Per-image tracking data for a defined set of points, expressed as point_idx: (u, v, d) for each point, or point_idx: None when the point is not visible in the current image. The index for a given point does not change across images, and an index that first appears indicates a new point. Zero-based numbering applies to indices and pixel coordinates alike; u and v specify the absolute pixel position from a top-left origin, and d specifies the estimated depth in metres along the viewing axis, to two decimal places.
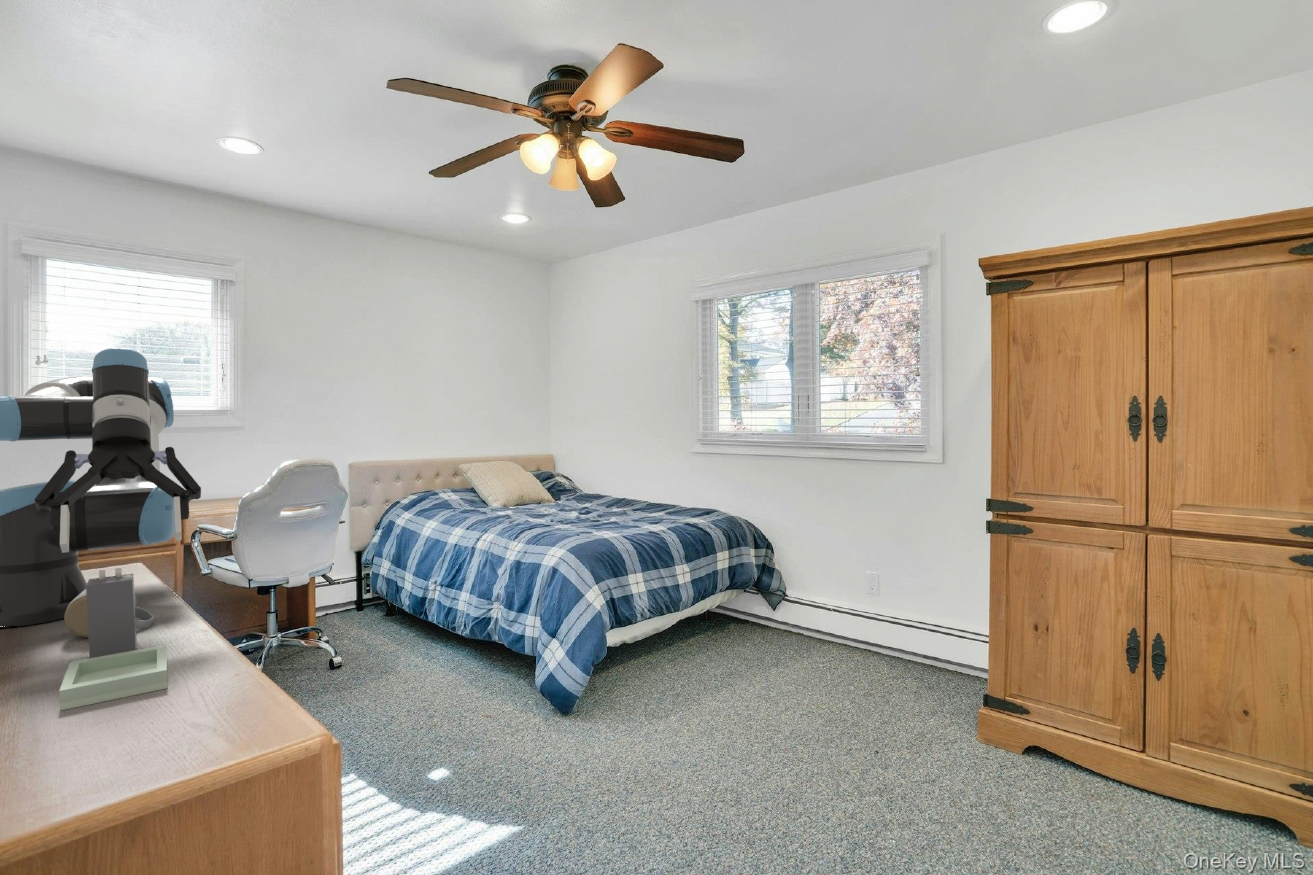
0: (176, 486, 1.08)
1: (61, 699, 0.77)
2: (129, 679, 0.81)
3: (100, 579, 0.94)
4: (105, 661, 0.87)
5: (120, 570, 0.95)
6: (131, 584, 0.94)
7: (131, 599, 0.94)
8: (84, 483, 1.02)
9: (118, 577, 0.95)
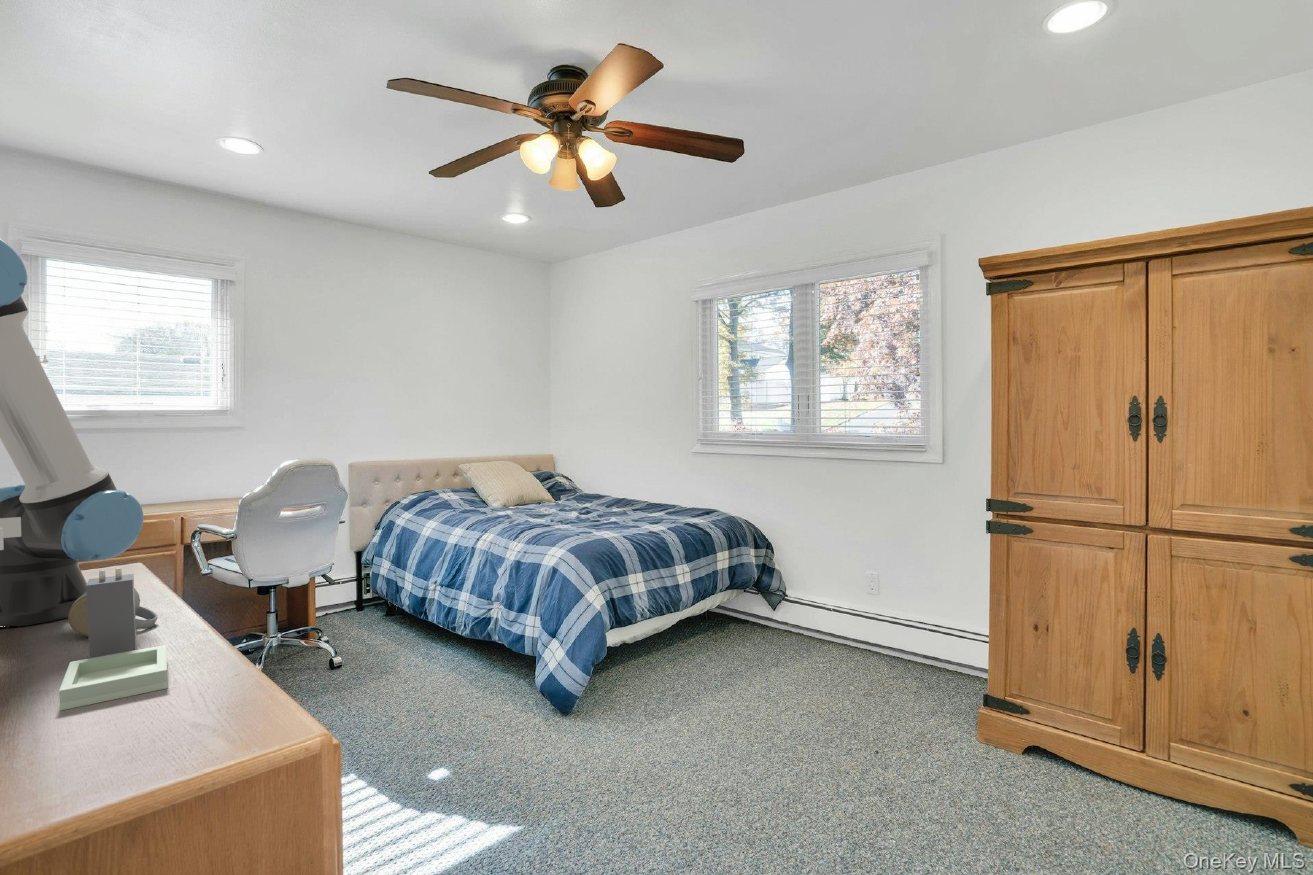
0: None
1: (61, 699, 0.77)
2: (129, 679, 0.81)
3: (100, 579, 0.94)
4: (105, 661, 0.87)
5: (120, 570, 0.95)
6: (131, 584, 0.94)
7: (131, 599, 0.94)
8: None
9: (118, 577, 0.95)
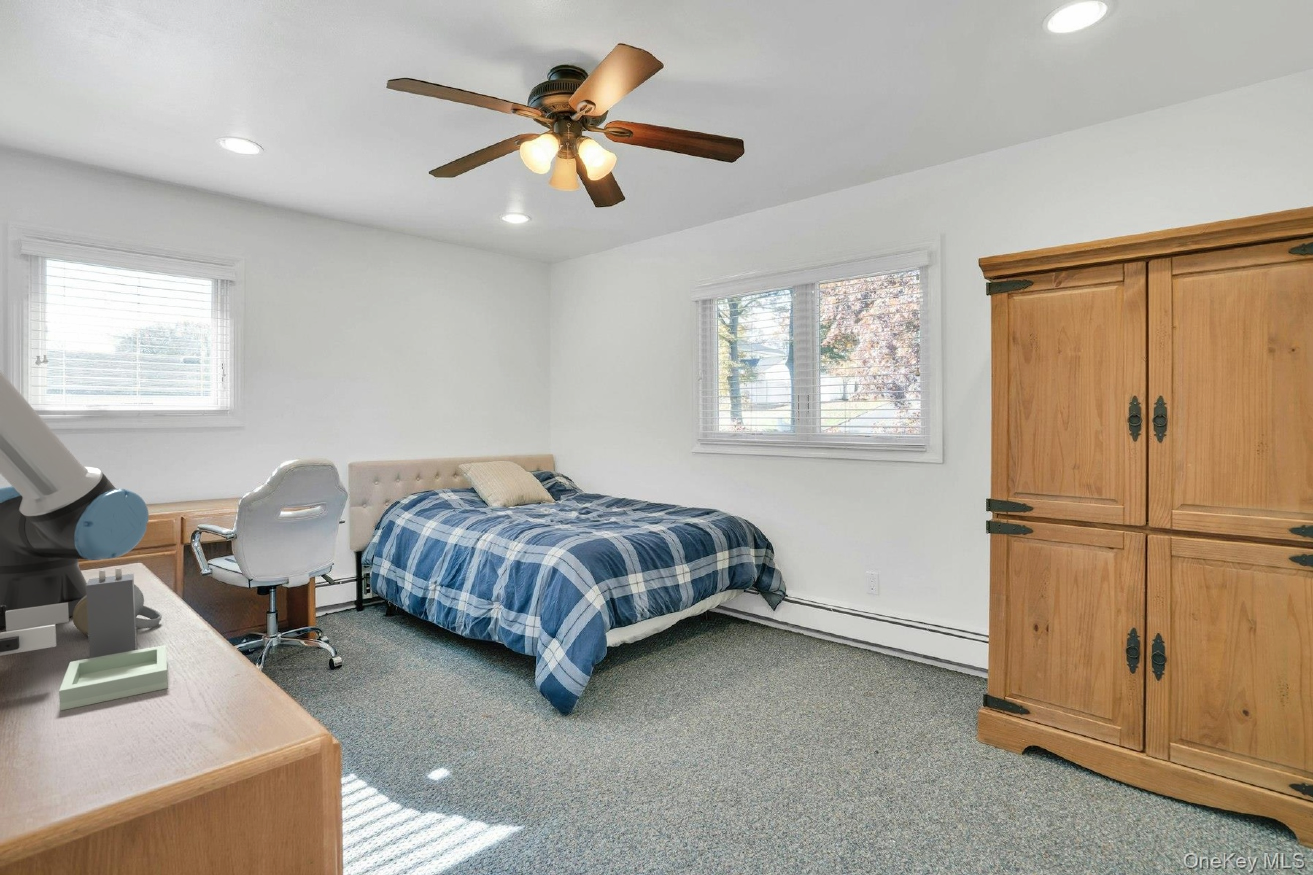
0: None
1: (61, 699, 0.77)
2: (129, 679, 0.81)
3: (100, 579, 0.94)
4: (105, 661, 0.87)
5: (120, 570, 0.95)
6: (131, 584, 0.94)
7: (131, 599, 0.94)
8: None
9: (118, 577, 0.95)
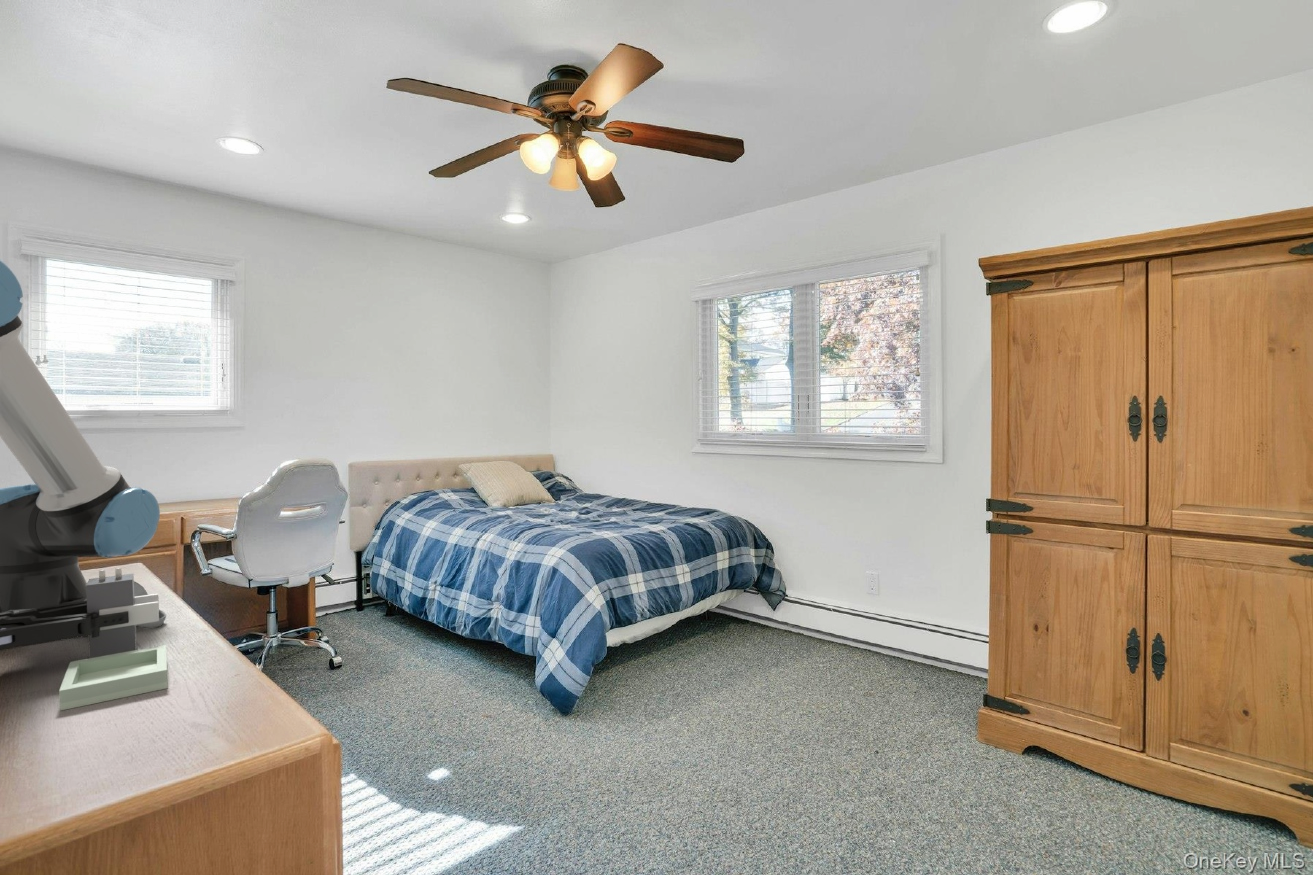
0: None
1: (61, 699, 0.77)
2: (129, 679, 0.81)
3: (100, 579, 0.94)
4: (105, 661, 0.87)
5: (120, 570, 0.95)
6: (131, 584, 0.94)
7: (131, 599, 0.94)
8: None
9: (118, 577, 0.95)
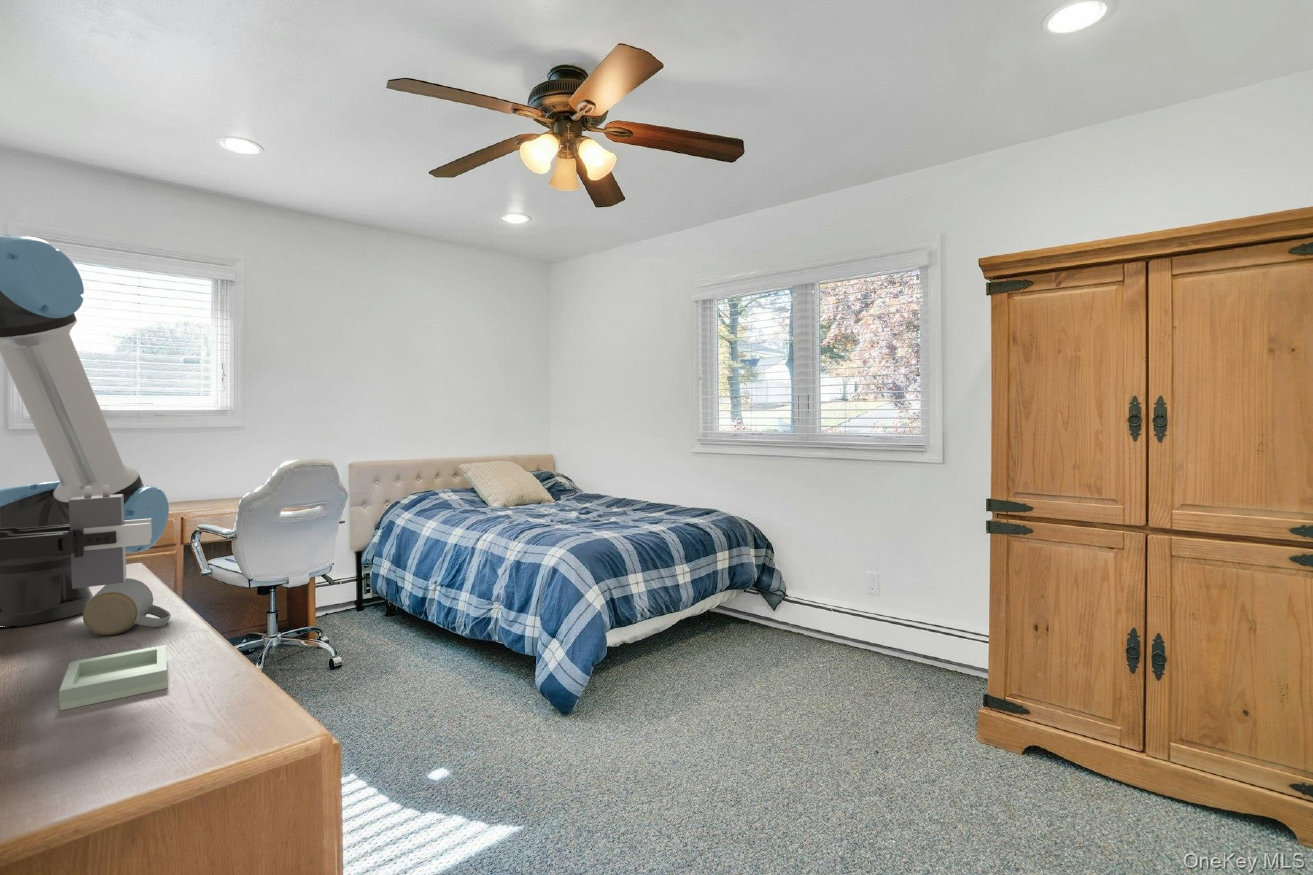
0: None
1: (61, 699, 0.77)
2: (129, 679, 0.81)
3: (85, 496, 0.85)
4: (105, 661, 0.87)
5: (108, 487, 0.86)
6: (119, 502, 0.85)
7: (119, 518, 0.85)
8: None
9: (105, 495, 0.86)
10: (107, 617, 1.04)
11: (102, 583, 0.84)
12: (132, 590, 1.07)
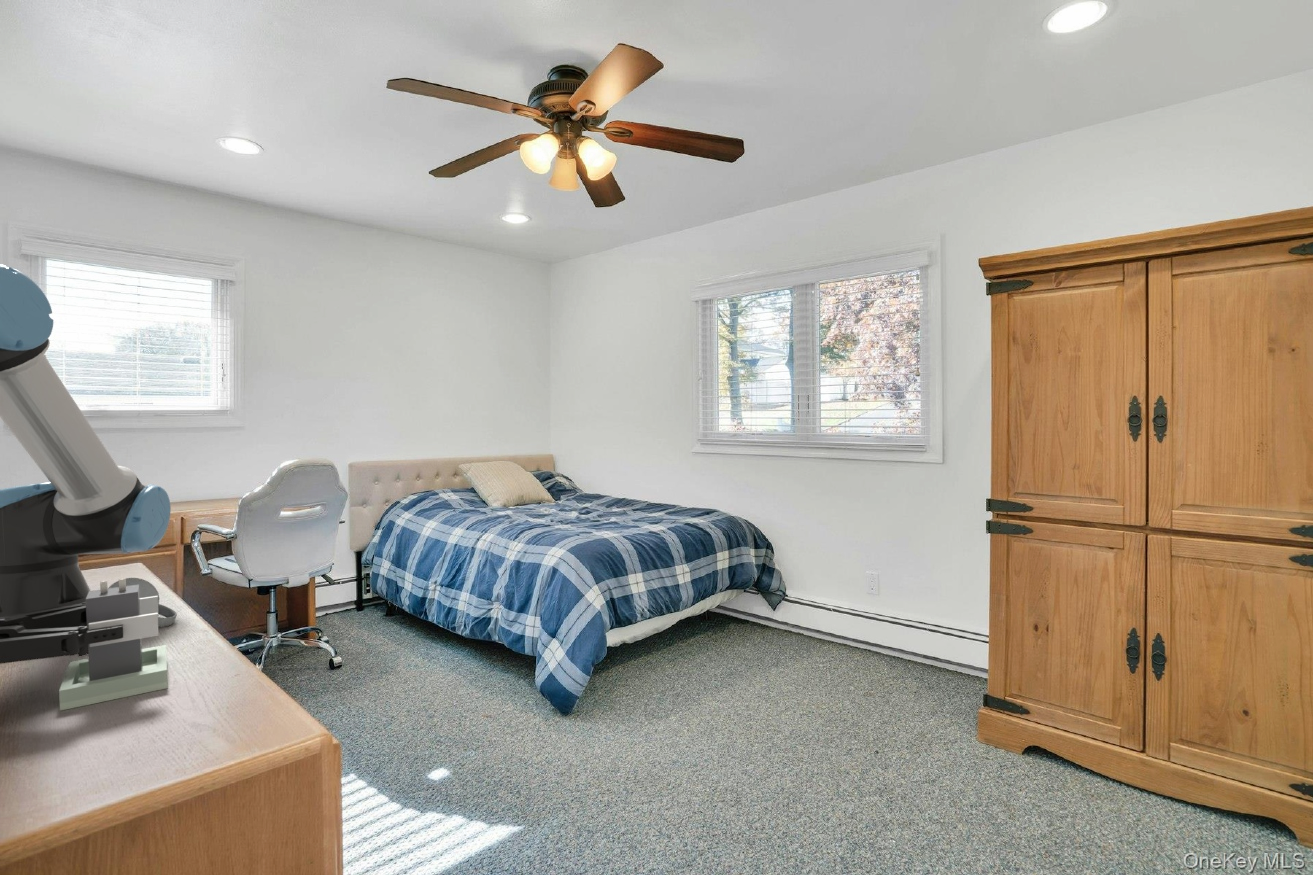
0: None
1: (61, 699, 0.77)
2: (129, 679, 0.81)
3: (102, 591, 0.83)
4: None
5: (124, 581, 0.85)
6: (136, 597, 0.84)
7: (136, 614, 0.84)
8: None
9: (122, 589, 0.84)
10: None
11: None
12: (139, 589, 1.08)
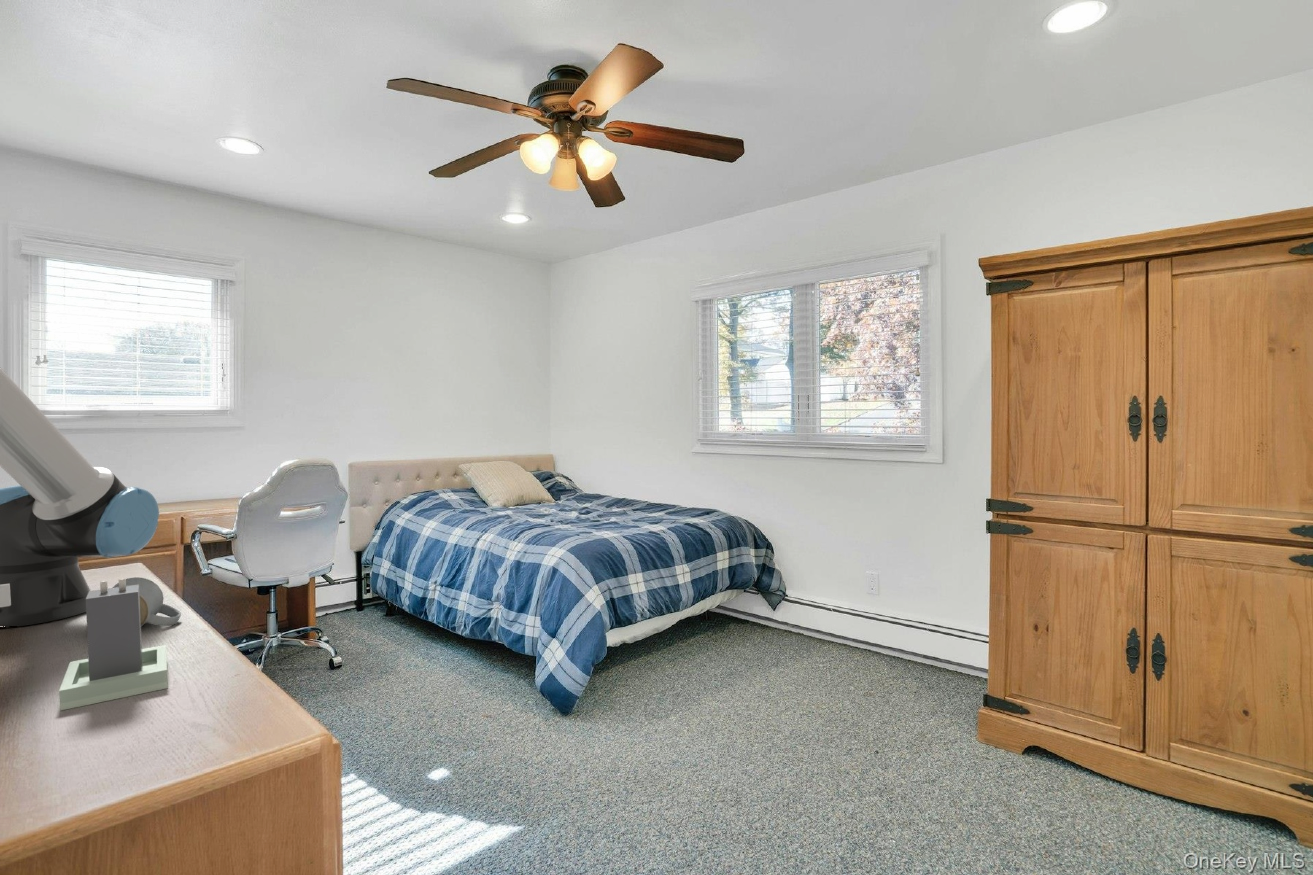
0: None
1: (61, 699, 0.77)
2: (129, 679, 0.81)
3: (102, 591, 0.83)
4: None
5: (124, 581, 0.85)
6: (136, 597, 0.84)
7: (136, 614, 0.84)
8: None
9: (122, 589, 0.84)
10: None
11: None
12: (143, 589, 1.08)
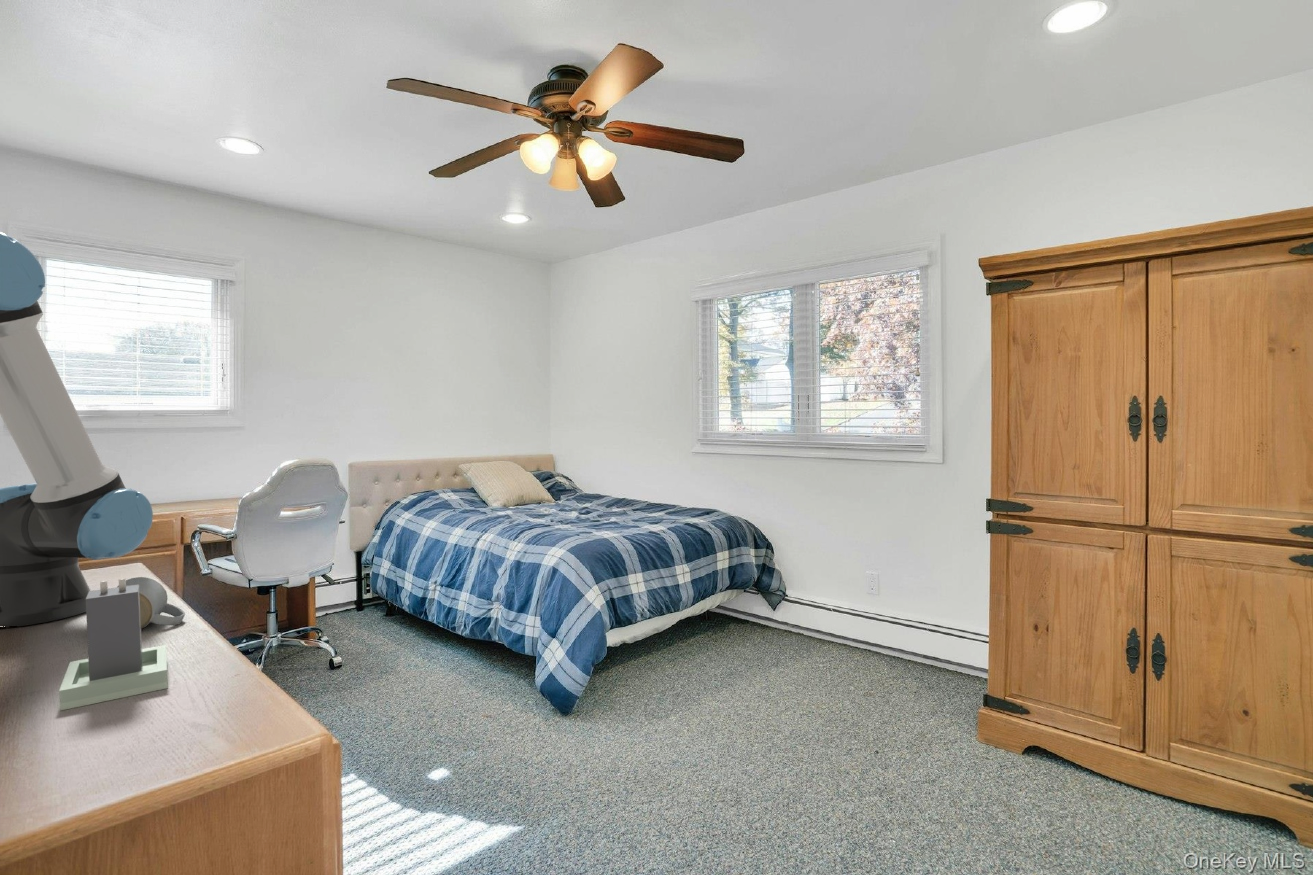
0: None
1: (61, 699, 0.77)
2: (129, 679, 0.81)
3: (102, 591, 0.83)
4: None
5: (124, 581, 0.85)
6: (136, 597, 0.84)
7: (136, 614, 0.84)
8: None
9: (122, 589, 0.84)
10: None
11: None
12: (147, 588, 1.08)
